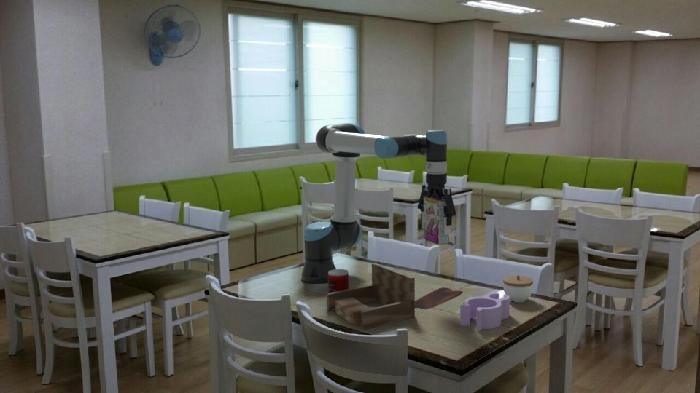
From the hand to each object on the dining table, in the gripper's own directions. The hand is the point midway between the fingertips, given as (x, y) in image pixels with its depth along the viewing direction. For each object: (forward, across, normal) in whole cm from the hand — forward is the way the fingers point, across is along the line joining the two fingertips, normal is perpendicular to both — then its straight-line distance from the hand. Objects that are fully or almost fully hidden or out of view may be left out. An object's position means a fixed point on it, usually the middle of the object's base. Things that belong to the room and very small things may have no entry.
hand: (436, 231), depth 235 cm
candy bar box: (+4, 0, 0) cm, 4 cm away
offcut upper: (+24, -2, -36) cm, 43 cm away
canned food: (+26, -21, -30) cm, 45 cm away
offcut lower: (+27, -2, -36) cm, 44 cm away
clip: (+26, +27, 0) cm, 38 cm away
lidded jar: (+26, +18, +24) cm, 40 cm away
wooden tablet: (+27, -1, 0) cm, 27 cm away
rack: (+26, -2, -28) cm, 38 cm away
